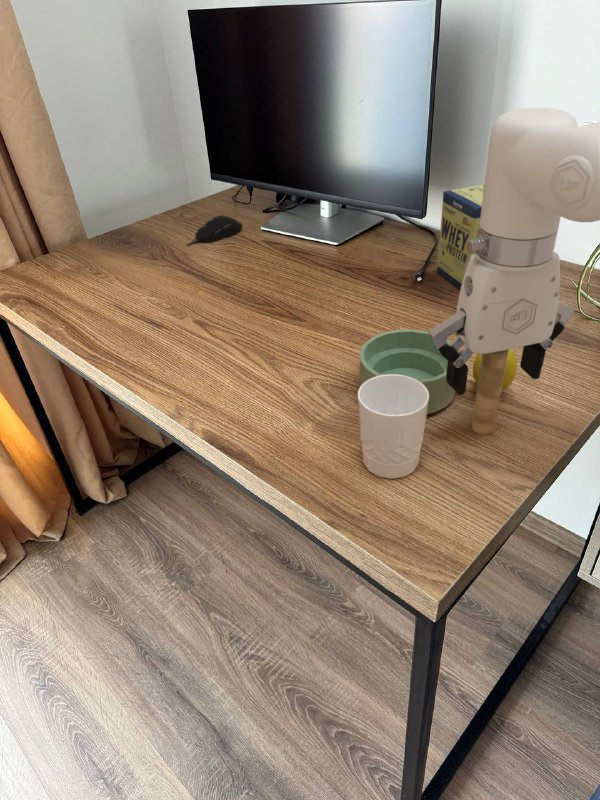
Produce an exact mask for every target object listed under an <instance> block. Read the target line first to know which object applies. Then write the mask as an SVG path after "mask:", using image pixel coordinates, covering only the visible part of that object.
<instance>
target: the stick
mask: <svg viewBox="0 0 600 800" xmlns="http://www.w3.org/2000/svg"><path fill="white" fill-rule="evenodd" d="M508 350H509V349H508ZM508 350H503V351H498V352H492V353H487V354H482V360H481V366H480V373H479V380H478V385H477V388H476V394H475V402H474V408H473V415H472V420H471V421H472V422H471V429H472V431H473V432H475V433H476V434H479V435H484V436H486V435H491V434H492V433H494V431H495V428H496V422H497V417H498V411H499V405H500V400H501V395H502V391H501V389H502V384H503V378H504V373H505V367H506V361H507V356H508Z"/></svg>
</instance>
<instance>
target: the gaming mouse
mask: <svg viewBox="0 0 600 800" xmlns="http://www.w3.org/2000/svg"><path fill="white" fill-rule="evenodd" d="M242 230H243V223H241V222H240V221H238V220H237V219H235V218H233V217H230V216H228V215H223V214H222V215H221V214H220V215H217V216H215V217H212V218H210V220H208V221H207V222H205V223H204V224H203V225H202V226H201V227H199V228H198V230H197V231H196V233H195V239H194V240H192V241H190V242H188V243H186V247H189V246H190V245H192V244H196V243H197V242H204V243H212V242H215V241H218V240H222V239H224V238H228V237H231V236H234V235H236V234H237V233H239V232H240V231H242Z"/></svg>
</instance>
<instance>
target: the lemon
mask: <svg viewBox="0 0 600 800" xmlns="http://www.w3.org/2000/svg"><path fill="white" fill-rule="evenodd" d="M481 360H482V354H476V356H475V358H474V362H473V363H472V375H473V380H474V382H475V384H476V385H477V386H478V380H479V373H480V366H481ZM517 362H518V361H517V357H516V354H515V352H514V350H513V349H509V350H508V356H507V361H506V367H505V373H504V378H503V384H502V389H501V392H503V391H505V390H506V389H508V388H509V387H510V386H511V385H512V384H513V382H514V380H515V378H516V375H517V369H518V367H517V365H518V363H517Z"/></svg>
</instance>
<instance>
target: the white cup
mask: <svg viewBox="0 0 600 800" xmlns="http://www.w3.org/2000/svg"><path fill="white" fill-rule="evenodd" d="M428 402H429V392H428V390H427V388H426V387H425V386H424V385H423V384H422V383H421V382H419V381H418V380H416V379H414V378H411V377H408V376H404V375H398V374H386V375H380V376H376V377H373V378H371V379H369V380H367V381H366V382H364V383H363V384H362V385H361V386H360V385H359V388H358V390H357V407H358V423H359V424H358V426H359V436H360V437H359V438H360V444H361V449H362V463H363V465H364V466H365V468H366V469H367V470H368V472H370V473H372V474H373V475H375V476H376V477H380V478H385V479H390V480H392V479H401V478H405V477H406V476H408V475H411V474H412V473H414V472H415V470H416V468H418V466H419V463H420V456H421V449H422V445H423V442H424V434H425V430H426V423H427V417H428V416H427V415H428V414H427V409H428Z"/></svg>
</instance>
